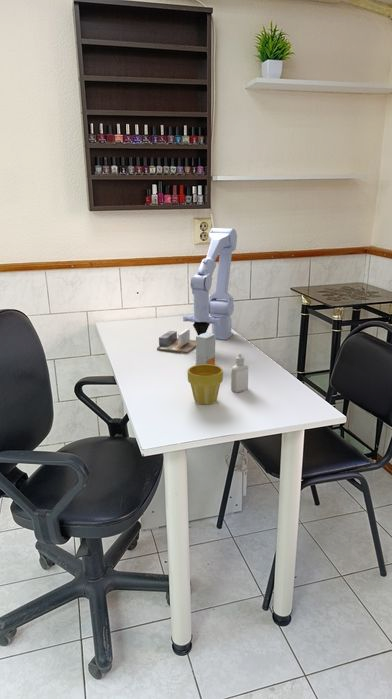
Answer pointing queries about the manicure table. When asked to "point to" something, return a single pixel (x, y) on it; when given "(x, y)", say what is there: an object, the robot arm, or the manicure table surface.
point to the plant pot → (205, 382)
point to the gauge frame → (174, 343)
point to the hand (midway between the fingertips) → (201, 340)
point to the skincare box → (205, 349)
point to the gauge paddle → (183, 338)
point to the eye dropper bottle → (239, 375)
